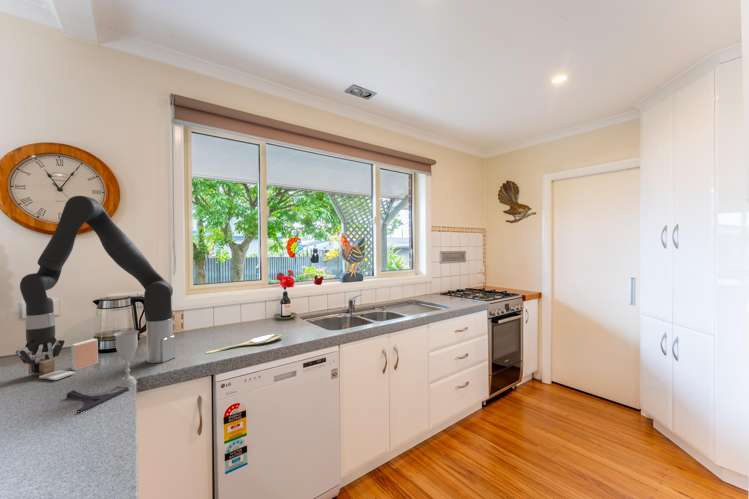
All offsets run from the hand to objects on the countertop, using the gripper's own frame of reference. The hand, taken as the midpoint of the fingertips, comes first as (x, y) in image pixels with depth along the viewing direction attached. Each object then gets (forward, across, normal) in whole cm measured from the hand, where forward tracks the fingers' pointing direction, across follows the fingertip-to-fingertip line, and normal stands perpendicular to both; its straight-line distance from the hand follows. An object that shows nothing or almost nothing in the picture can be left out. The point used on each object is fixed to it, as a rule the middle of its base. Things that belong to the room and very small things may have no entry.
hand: (42, 371), depth 117 cm
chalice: (+2, 0, -40) cm, 40 cm away
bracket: (+3, -11, -38) cm, 39 cm away
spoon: (+3, +46, -54) cm, 71 cm away
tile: (+2, +10, -6) cm, 12 cm away
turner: (+1, 0, -4) cm, 4 cm away
